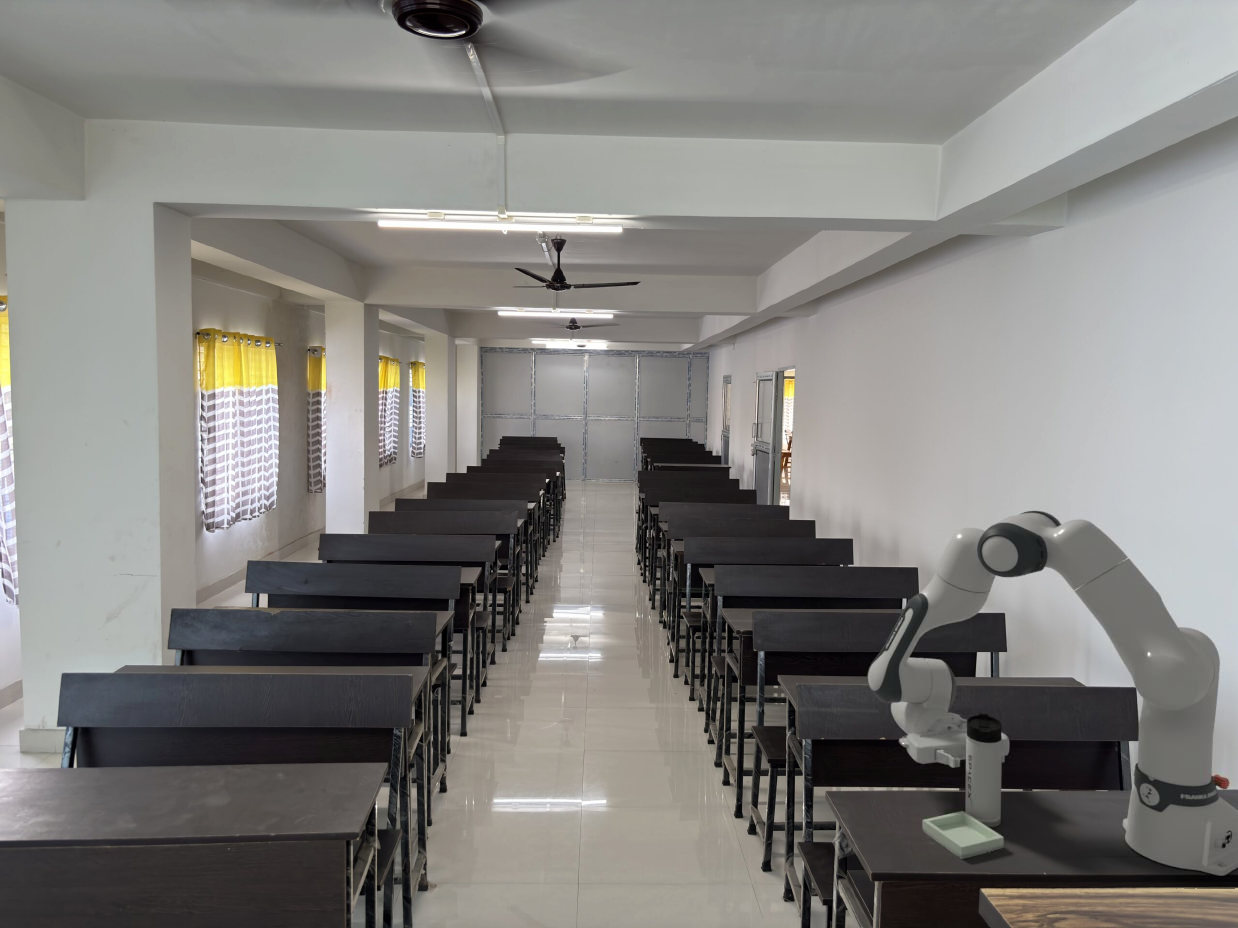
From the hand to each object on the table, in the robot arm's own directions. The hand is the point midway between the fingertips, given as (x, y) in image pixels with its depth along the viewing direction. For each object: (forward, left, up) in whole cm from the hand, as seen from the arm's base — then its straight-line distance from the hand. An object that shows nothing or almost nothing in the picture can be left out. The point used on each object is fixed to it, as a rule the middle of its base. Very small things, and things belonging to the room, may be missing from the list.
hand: (979, 761), depth 165 cm
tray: (+9, +6, -11) cm, 16 cm away
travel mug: (0, +2, -11) cm, 11 cm away
